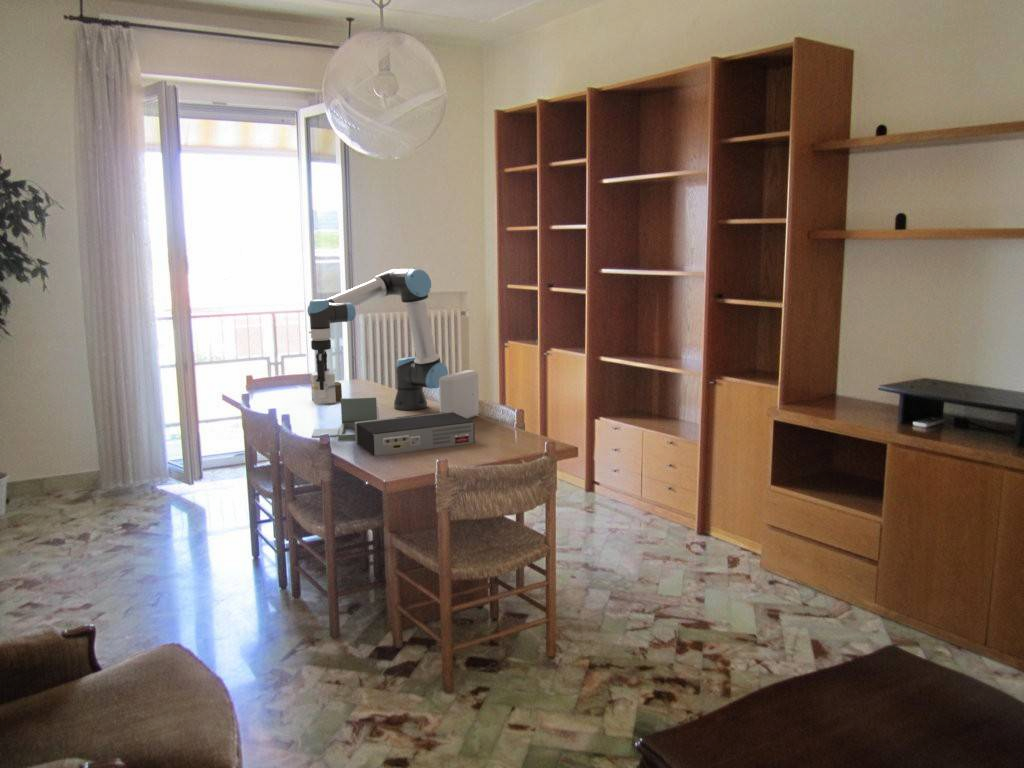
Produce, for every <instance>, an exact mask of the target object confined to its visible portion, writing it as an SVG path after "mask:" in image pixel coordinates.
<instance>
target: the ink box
mask: <svg viewBox="0 0 1024 768" xmlns="http://www.w3.org/2000/svg"><path fill="white" fill-rule="evenodd" d="M335 377H336V376H335V374H334V372H333V371H332V370H330V371H329V370H327V371H325V385H326V398H319V390H318V382H316V380H317V379H318V374H317V371H315V372H313V371H311V372H310V383H311V401H312V402H313V404H314V405H326V404H325V403H334V404H336V403H337V402H336V394H335V382H336V381H335V380H336V379H335ZM320 378H323V377H320Z"/></svg>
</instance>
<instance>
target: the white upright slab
mask: <svg viewBox="0 0 1024 768" xmlns="http://www.w3.org/2000/svg"><path fill="white" fill-rule="evenodd" d="M438 391H439V412H447V411H452V412H454V413H456V414H458V415H460V416H463V417H465V418H467V419H469V420H470V419H471V418H475V417H477V416H478V415H479V413H480V408H479V407H480V406H479V374H478V372H477V371H476V370H473V369H472V370H471V369H465V370H463V371H457V372H455V373H451V374H448V375H446V376H442V377H441V378H440V379H439V388H438ZM472 394H473V395H472Z"/></svg>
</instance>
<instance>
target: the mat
mask: <svg viewBox="0 0 1024 768" xmlns="http://www.w3.org/2000/svg"><path fill="white" fill-rule="evenodd" d="M339 431H340V428H338V427H337V428H336V427H334V428H317V429H316V428H314V429H313V432H312V433H311V438H320V437H319V436H320V435H321V434H323V433H328V434H329V435H330V437H329V438H332V437H333V438H335V437H337V438H338V434H339Z"/></svg>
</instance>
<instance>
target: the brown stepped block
mask: <svg viewBox="0 0 1024 768" xmlns="http://www.w3.org/2000/svg"><path fill="white" fill-rule="evenodd" d="M342 389H343V388H342V383H341V382H340V381H335V394H336V401H337V402H341V399H342V398H343V394H342V393H343V391H342ZM327 404H328V405H333V403H325V404H324V405H327Z"/></svg>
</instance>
